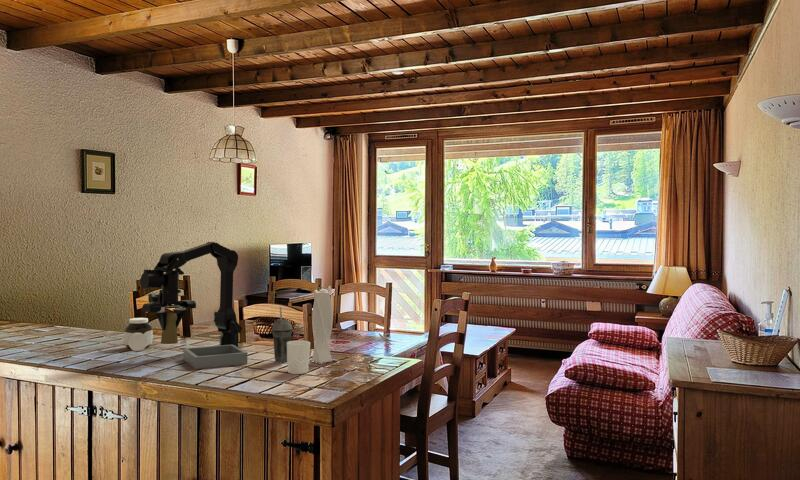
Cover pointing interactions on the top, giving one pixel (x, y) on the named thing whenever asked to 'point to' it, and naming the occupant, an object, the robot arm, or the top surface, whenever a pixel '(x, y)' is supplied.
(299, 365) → the white cup
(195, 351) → the tray
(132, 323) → the spread jar
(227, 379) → the top surface
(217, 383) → the top surface
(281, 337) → the beverage cup
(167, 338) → the olive gourd-shaped piece
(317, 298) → the grey tall twisted column
